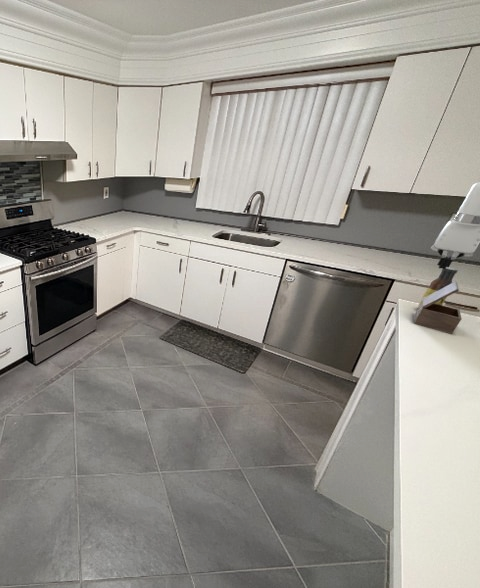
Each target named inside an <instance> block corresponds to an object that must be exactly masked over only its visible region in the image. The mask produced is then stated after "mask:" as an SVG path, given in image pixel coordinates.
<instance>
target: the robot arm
mask: <svg viewBox="0 0 480 588" xmlns="http://www.w3.org/2000/svg"><path fill="white" fill-rule="evenodd" d="M479 244H480V181H478V182H475V183H474V184H473V185H471V188H470V189H469V191H468V193H467V195H466V197H465V198H464V200H463V201H462V204H461V205H460V207H459V209H458V210H457V212H456V214H455V216H454V218H453V220H449V221H448V222H447V223H446V224H445V225H444V226H443V228H442V230H441V231H440V232H439V234H438V235H437V237H436V239H435V241H434V244H432V246H431V247H430V250H432V251H435V252H436V253H438V254H439V255H440V258H439V260H438V262H437V266H438V269H441V270H442V269H445V268H446V267H450V266H451V265H452V263H453V261H454V260H456V259H458V258H462V257H468V258H471V257H473V256H474V253H475V252H476V250H477V248H478V246H479ZM449 251H450V252H451V251H452V253H451V254H450V255H449V256H448V253H449Z"/></svg>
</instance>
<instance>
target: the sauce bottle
mask: <svg viewBox="0 0 480 588" xmlns="http://www.w3.org/2000/svg"><path fill="white" fill-rule="evenodd" d="M458 271H459V270H458V269H457V268H454V267H450V266H449V267H446V268H445V269H442V268H441V272H440V274H439V275H438V277H437V278H436V279H433V280H432V281H431V282H430V284H429V285H428V287H427V289H426V291H425V293H424V294H423V296H422V298H421V300H420V301H419V303H418V306H417V307H416V309H417V310H418V308H419V306H420V304H421V303H422V299H423V298H425V297H427V296H429V295H431V294H432V293H434V292H436V291H438V290H440V289H442V288H444V287H446V286H447V285H449V284H451V283H453V279H454V277H455V276H456V274H457V273H458ZM447 298H448V297H446V298H444V299H442V300H440V301H438V302H436V303H435V304H439V305H443V304H445V302H446V300H447ZM443 306H444V305H443ZM417 310H416V311H417Z"/></svg>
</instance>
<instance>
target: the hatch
mask: <svg viewBox="0 0 480 588" xmlns="http://www.w3.org/2000/svg"><path fill="white" fill-rule="evenodd" d="M459 291H460V288H459V285H458V282H457V281H452V283H451V284H449V285H447V286H446V287H444V288H442V289H440V290H438V291H436V292H434V293H432V294H431V295H429V296H427V297H425V298H423V297H422V298H423V299H422V298H421V300H422V307H423V308H426V307H428V306H430V305H432V304H434V303H436V302H438V301H440V300H442V299H444V298H446V297H447V298H448V297H450V296H451V295H453V294H455V293H457V292H459ZM447 298H446V299H447Z"/></svg>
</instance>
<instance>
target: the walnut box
mask: <svg viewBox="0 0 480 588" xmlns="http://www.w3.org/2000/svg"><path fill="white" fill-rule="evenodd" d="M419 304H420V303H419ZM418 307H419V308H418ZM418 307H417V308H418V310H416V311H415V313H414V320H413V321H414V322H413V324H415V325H419V326H422V327H425V328H428V329H432V330H435V331H440V332H442V333H446V334H450V335H452V334H453V333H454V332H455V330H456V329H457V327H458V325H460V322H461V321H462V314H461V310H460V309H459V308H455V307H451V306H447V305H439V304H435V303H434V304H432V305H430V306H428V307H426V308H423V307H422V303H421V304H420V306H418Z"/></svg>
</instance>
